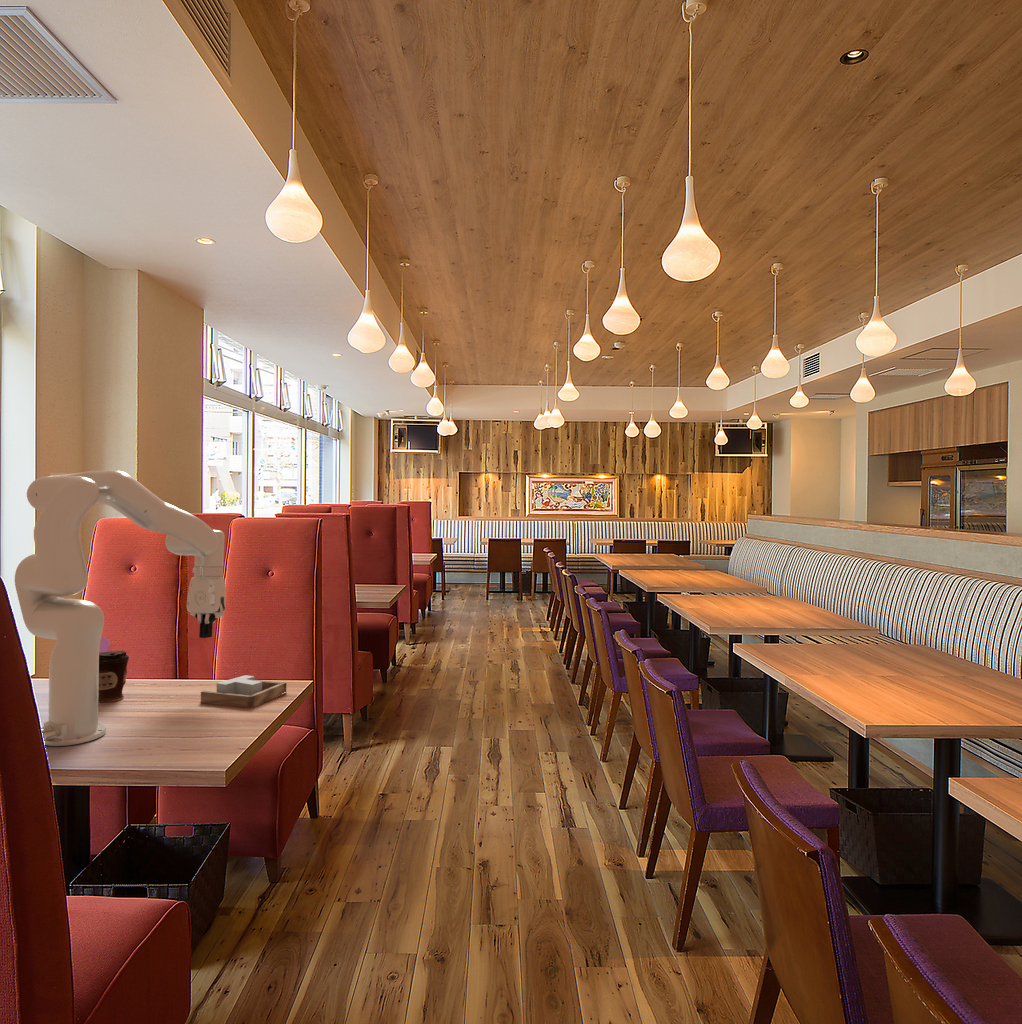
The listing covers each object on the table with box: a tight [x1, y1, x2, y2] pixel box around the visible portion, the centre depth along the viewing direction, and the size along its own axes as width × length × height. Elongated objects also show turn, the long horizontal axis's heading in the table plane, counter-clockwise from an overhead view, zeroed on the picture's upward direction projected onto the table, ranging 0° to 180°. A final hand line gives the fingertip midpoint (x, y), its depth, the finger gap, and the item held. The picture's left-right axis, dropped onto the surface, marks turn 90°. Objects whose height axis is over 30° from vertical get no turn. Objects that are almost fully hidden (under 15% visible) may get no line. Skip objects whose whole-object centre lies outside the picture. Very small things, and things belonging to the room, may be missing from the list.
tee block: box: [216, 674, 262, 695], centre depth 182 cm, size 10×10×5 cm
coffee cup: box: [98, 650, 130, 703], centre depth 180 cm, size 9×8×13 cm
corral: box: [200, 679, 287, 709], centre depth 183 cm, size 15×16×3 cm
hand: (205, 637), depth 185 cm, fingers closed
